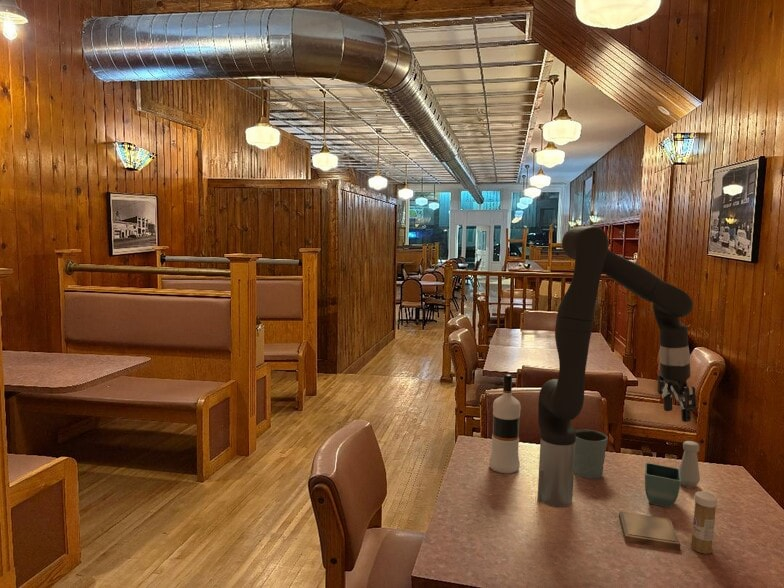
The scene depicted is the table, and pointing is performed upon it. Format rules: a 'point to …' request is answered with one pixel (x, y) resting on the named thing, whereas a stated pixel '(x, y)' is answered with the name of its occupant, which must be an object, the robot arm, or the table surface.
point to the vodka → (505, 431)
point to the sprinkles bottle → (703, 522)
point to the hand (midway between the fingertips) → (677, 415)
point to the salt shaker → (690, 465)
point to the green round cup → (589, 453)
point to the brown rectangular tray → (648, 530)
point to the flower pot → (662, 484)
